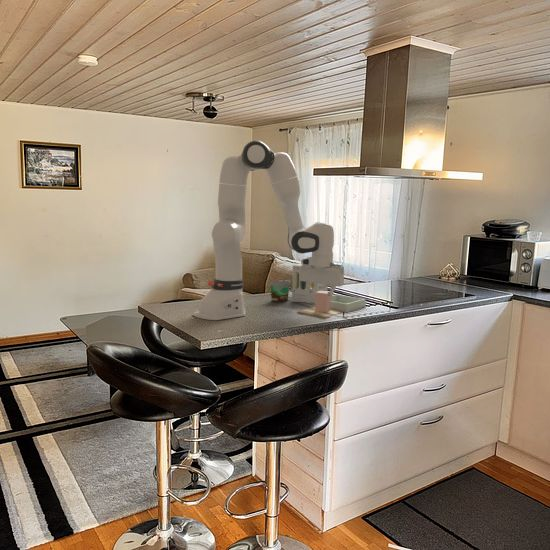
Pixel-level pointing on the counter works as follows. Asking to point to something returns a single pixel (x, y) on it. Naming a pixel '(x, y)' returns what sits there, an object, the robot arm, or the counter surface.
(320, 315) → the pad
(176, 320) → the counter surface
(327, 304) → the block
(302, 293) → the supplement box
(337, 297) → the bin
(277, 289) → the food container
